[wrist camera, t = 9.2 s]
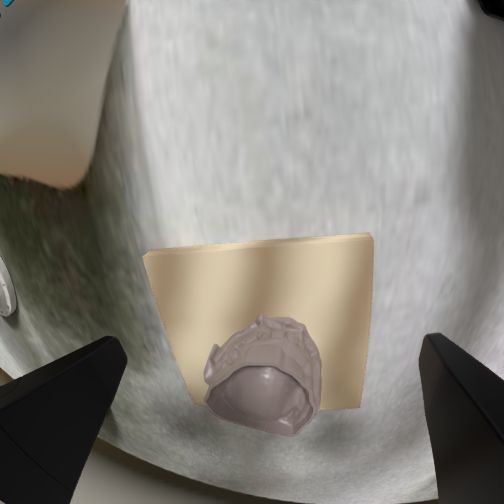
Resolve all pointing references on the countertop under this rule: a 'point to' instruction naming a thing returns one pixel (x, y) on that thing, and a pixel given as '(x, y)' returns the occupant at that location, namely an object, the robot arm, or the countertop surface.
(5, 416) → the robot arm
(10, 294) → the mechanical component
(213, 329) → the birch pad
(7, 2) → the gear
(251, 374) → the dental mold
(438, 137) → the countertop surface
